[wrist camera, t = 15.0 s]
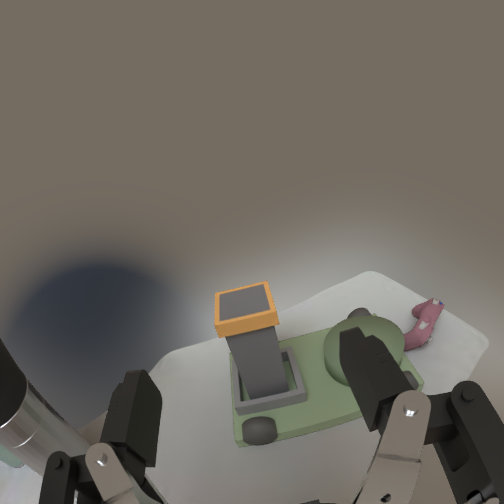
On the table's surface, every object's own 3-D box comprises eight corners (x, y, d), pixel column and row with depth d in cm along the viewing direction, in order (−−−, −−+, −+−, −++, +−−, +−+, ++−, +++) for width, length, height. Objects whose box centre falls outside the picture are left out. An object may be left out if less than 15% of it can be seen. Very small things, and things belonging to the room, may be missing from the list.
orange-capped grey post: (248, 406, 31) (214, 325, 26) (244, 373, 37) (215, 293, 31) (294, 395, 31) (276, 311, 26) (285, 363, 37) (267, 280, 31)
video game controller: (408, 364, 34) (435, 340, 29) (387, 346, 36) (411, 320, 31) (430, 324, 39) (452, 299, 34) (411, 309, 41) (432, 283, 37)
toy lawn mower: (239, 448, 27) (227, 431, 25) (232, 360, 42) (224, 338, 40) (421, 392, 27) (429, 368, 25) (373, 321, 42) (374, 297, 40)
